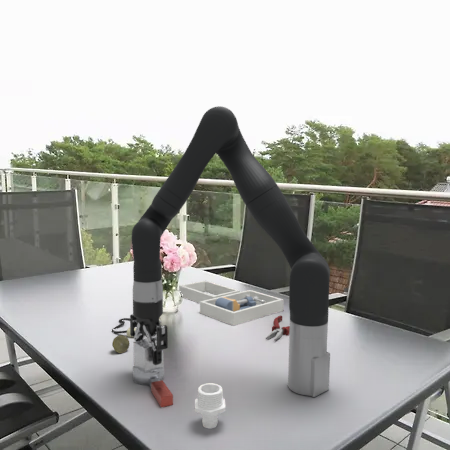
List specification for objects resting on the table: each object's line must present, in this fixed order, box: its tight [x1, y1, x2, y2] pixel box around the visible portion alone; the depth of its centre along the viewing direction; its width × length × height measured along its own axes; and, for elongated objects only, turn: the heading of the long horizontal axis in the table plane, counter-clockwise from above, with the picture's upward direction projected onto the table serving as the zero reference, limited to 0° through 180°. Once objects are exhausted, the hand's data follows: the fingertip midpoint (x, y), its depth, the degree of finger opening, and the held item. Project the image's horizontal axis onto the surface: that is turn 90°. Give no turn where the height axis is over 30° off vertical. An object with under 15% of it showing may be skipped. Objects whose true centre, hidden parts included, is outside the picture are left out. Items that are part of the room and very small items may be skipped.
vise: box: [215, 294, 265, 312], centre depth 171 cm, size 18×10×7 cm, turn 129°
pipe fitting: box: [194, 382, 226, 430], centre depth 96 cm, size 6×7×8 cm
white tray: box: [199, 289, 285, 327], centre depth 173 cm, size 18×26×4 cm
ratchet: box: [132, 365, 174, 408], centre depth 112 cm, size 20×8×6 cm, turn 25°
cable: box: [111, 316, 163, 338], centre depth 154 cm, size 16×16×4 cm
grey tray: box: [178, 280, 241, 304], centre depth 190 cm, size 22×14×4 cm, turn 42°
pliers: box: [265, 315, 290, 342], centre depth 152 cm, size 12×21×3 cm, turn 150°
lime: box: [111, 334, 130, 354], centre depth 134 cm, size 4×5×5 cm
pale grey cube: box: [133, 337, 165, 373], centre depth 117 cm, size 6×6×6 cm
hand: (148, 358), depth 117 cm, fingers open, 7 cm apart
